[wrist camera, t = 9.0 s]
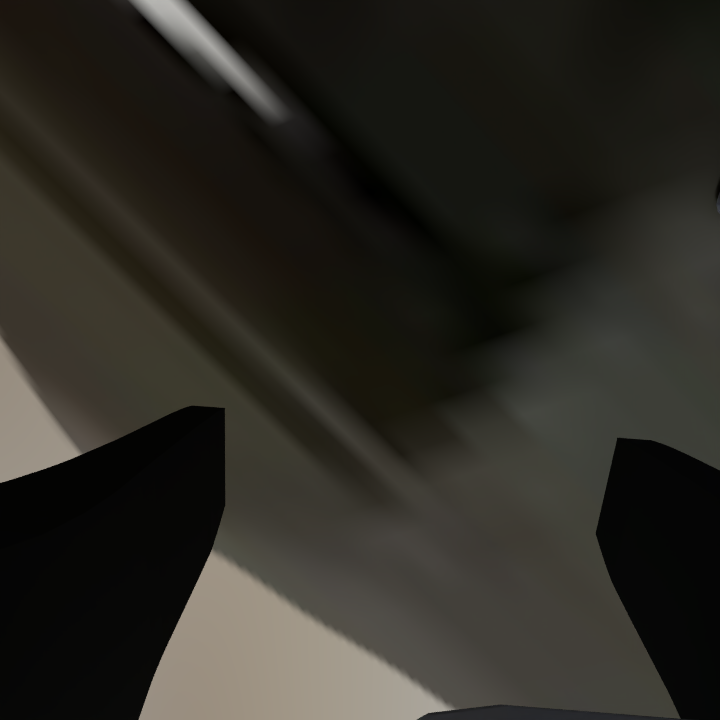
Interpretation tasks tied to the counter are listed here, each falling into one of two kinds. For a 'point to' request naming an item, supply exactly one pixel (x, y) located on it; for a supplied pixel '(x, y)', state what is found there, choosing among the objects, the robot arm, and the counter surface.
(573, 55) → the counter surface
